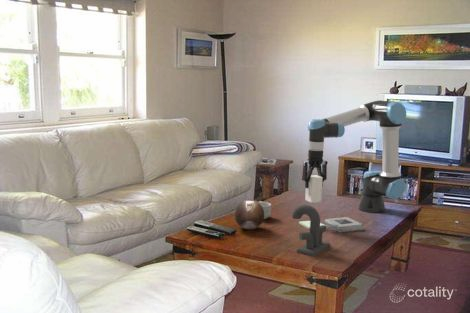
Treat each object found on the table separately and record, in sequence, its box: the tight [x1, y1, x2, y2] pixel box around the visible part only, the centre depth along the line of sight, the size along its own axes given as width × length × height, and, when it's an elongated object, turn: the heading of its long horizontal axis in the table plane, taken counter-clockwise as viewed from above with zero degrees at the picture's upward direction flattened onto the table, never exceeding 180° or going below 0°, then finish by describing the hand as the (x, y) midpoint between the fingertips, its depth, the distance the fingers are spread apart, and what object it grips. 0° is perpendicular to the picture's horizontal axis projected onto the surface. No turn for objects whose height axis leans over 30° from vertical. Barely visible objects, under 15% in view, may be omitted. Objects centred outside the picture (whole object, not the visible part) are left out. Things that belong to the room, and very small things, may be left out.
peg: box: [304, 174, 323, 203], centre depth 271 cm, size 6×6×13 cm
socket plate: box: [323, 216, 364, 233], centre depth 272 cm, size 14×14×3 cm
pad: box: [298, 220, 326, 230], centre depth 274 cm, size 10×10×1 cm
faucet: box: [291, 204, 331, 257], centre depth 238 cm, size 18×16×20 cm
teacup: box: [257, 200, 272, 220], centre depth 286 cm, size 14×11×8 cm
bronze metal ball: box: [234, 199, 265, 230], centre depth 264 cm, size 15×15×15 cm
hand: (313, 193), depth 271 cm, fingers closed on peg, 6 cm apart
